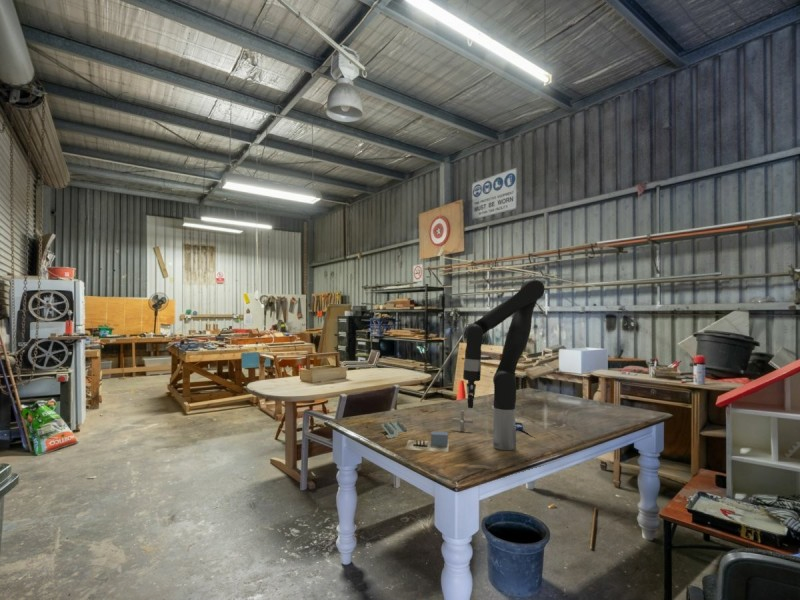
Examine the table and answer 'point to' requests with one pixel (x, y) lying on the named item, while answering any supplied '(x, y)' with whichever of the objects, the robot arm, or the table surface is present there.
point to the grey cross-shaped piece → (462, 420)
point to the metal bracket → (393, 428)
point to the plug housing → (439, 439)
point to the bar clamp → (519, 426)
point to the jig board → (424, 446)
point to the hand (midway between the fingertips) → (470, 405)
